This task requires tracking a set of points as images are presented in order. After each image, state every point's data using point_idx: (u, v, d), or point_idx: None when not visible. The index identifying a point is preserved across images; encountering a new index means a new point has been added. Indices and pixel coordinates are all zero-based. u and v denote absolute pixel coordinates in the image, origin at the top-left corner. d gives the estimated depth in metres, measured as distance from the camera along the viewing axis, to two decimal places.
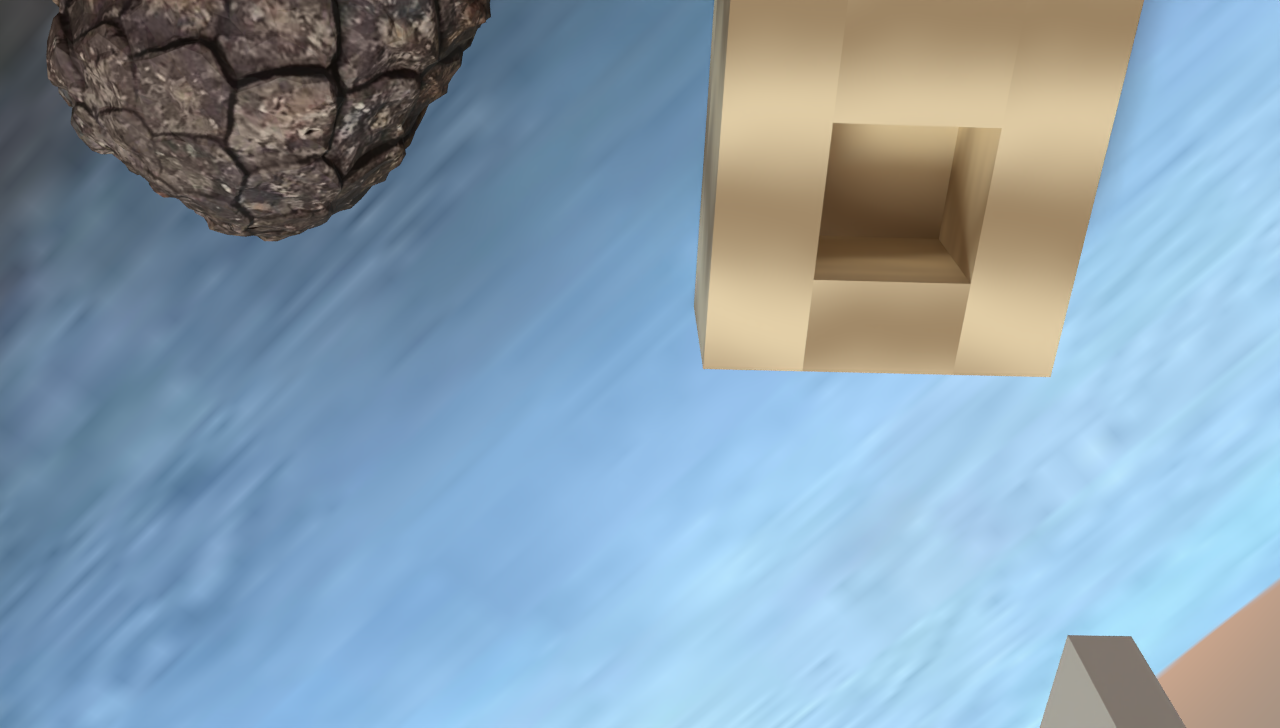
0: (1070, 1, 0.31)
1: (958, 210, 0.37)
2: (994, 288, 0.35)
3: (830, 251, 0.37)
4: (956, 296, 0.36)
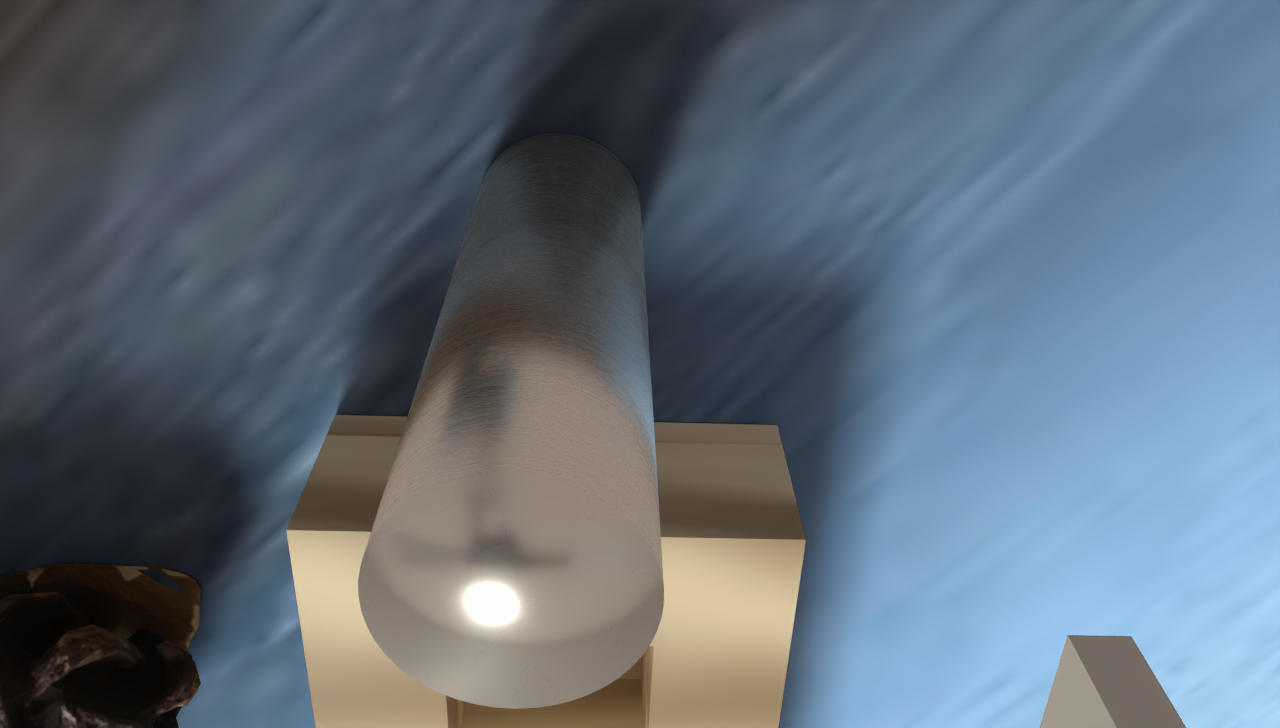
0: None
1: None
2: None
3: None
4: None
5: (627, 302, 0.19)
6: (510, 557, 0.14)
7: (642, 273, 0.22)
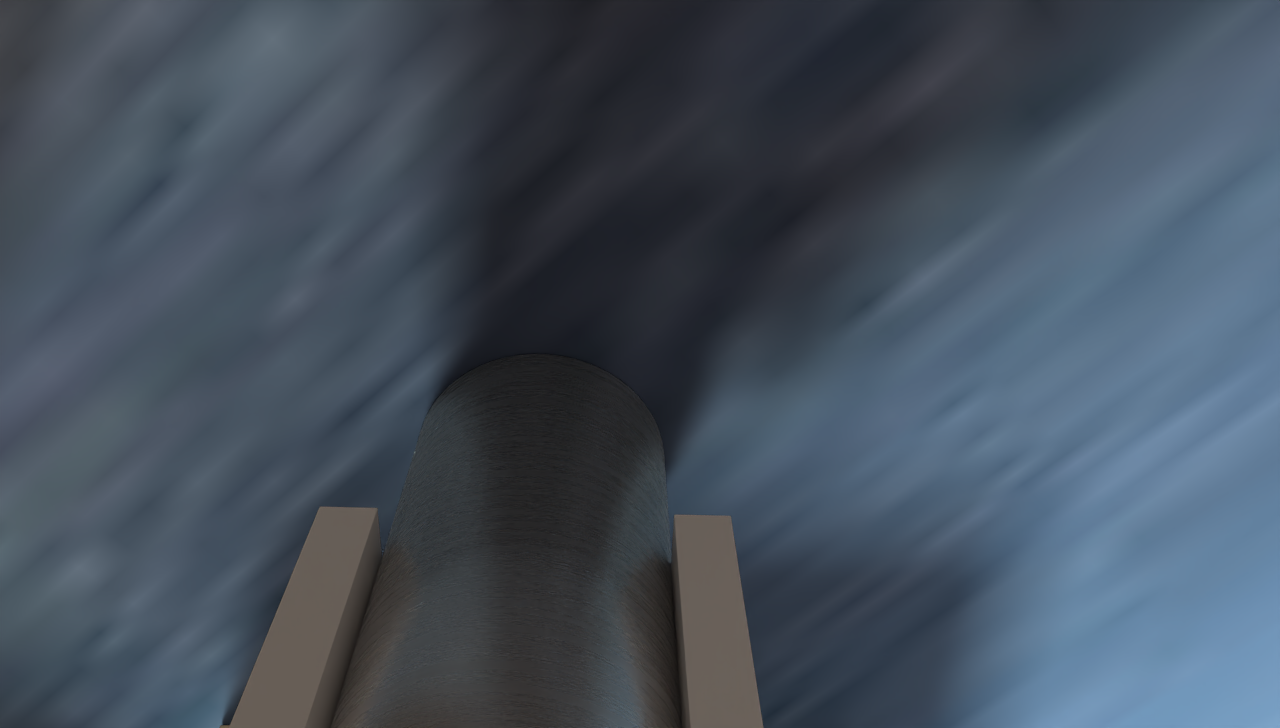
0: None
1: None
2: None
3: None
4: None
5: None
6: None
7: (674, 648, 0.13)
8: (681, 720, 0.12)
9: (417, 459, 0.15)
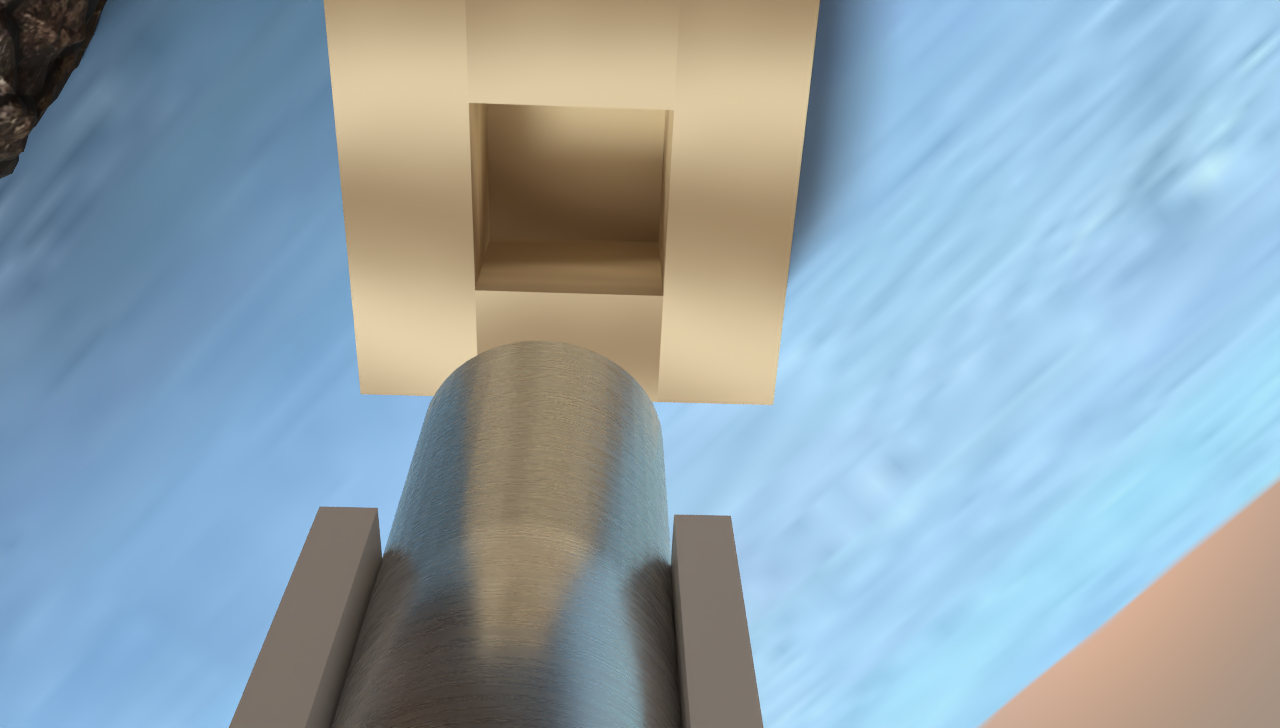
0: None
1: (662, 208, 0.31)
2: (692, 301, 0.30)
3: (518, 256, 0.32)
4: (648, 310, 0.30)
5: None
6: None
7: (672, 621, 0.13)
8: (681, 720, 0.12)
9: (422, 442, 0.16)
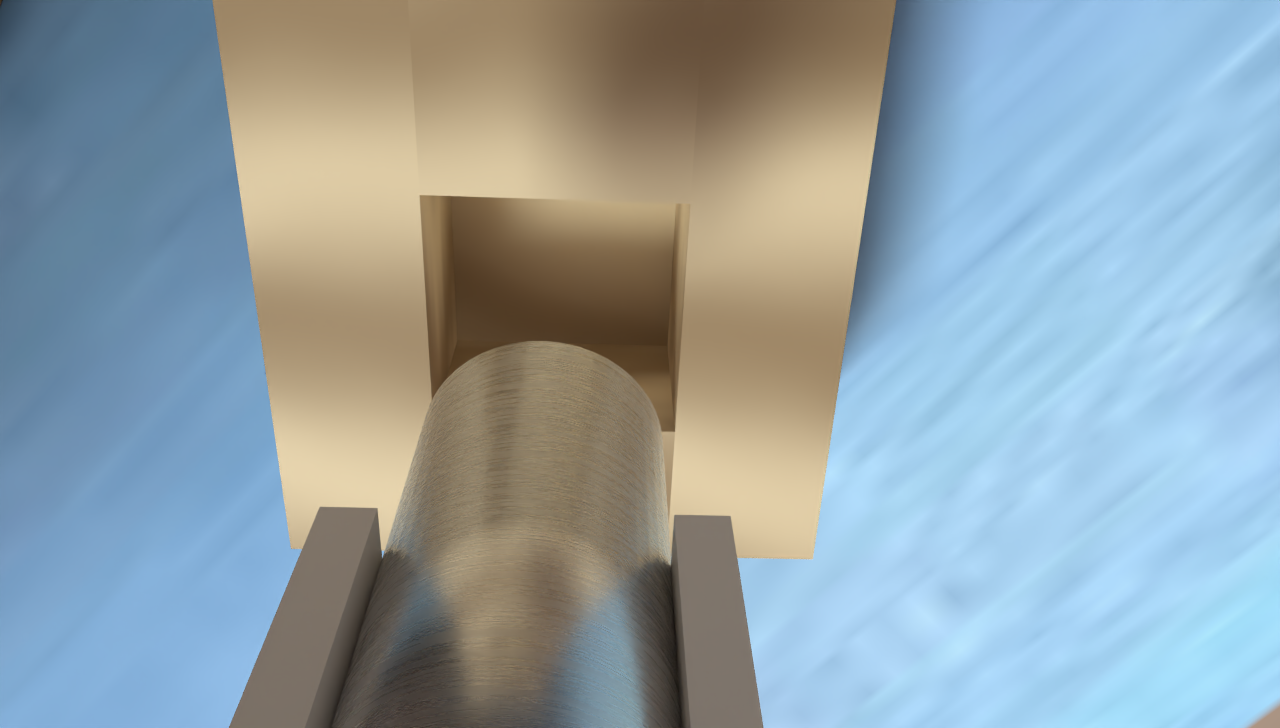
0: (775, 3, 0.19)
1: (673, 313, 0.25)
2: (711, 437, 0.23)
3: None
4: None
5: None
6: None
7: (672, 622, 0.13)
8: (681, 720, 0.12)
9: (422, 442, 0.16)
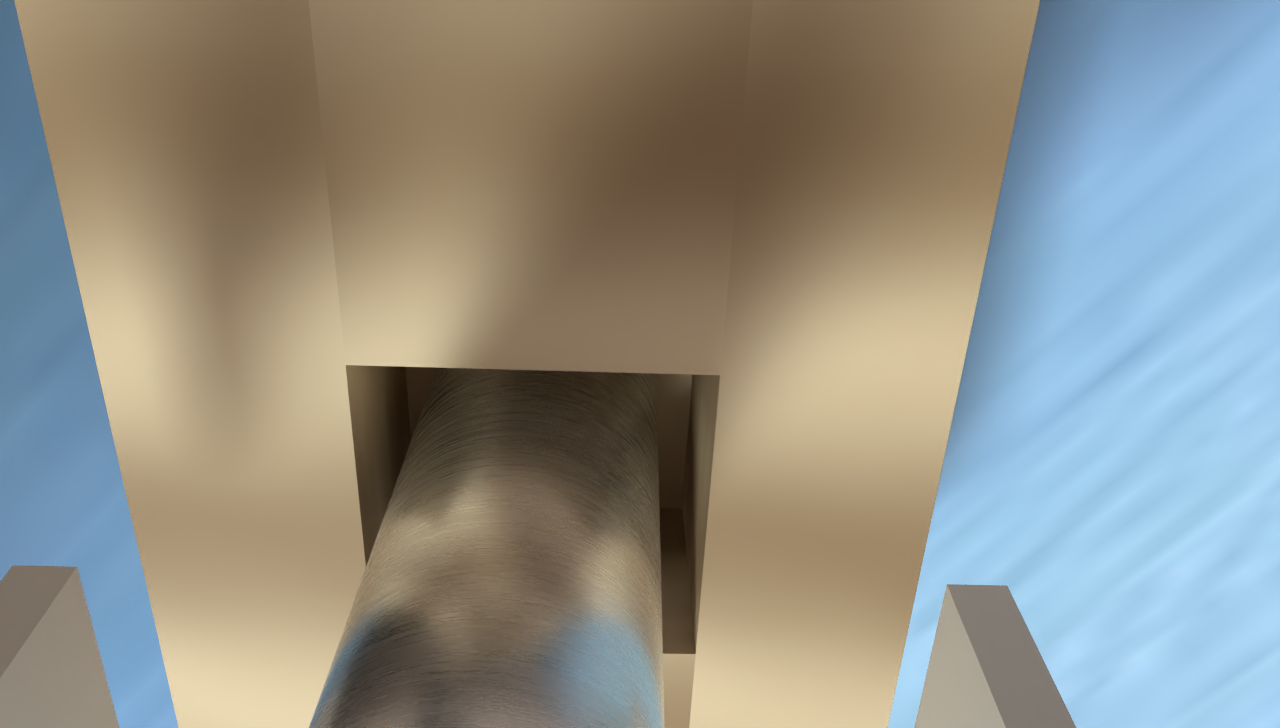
0: (845, 110, 0.13)
1: (692, 483, 0.19)
2: (743, 661, 0.18)
3: None
4: (670, 674, 0.18)
5: (631, 623, 0.12)
6: None
7: (656, 526, 0.15)
8: None
9: (437, 375, 0.18)
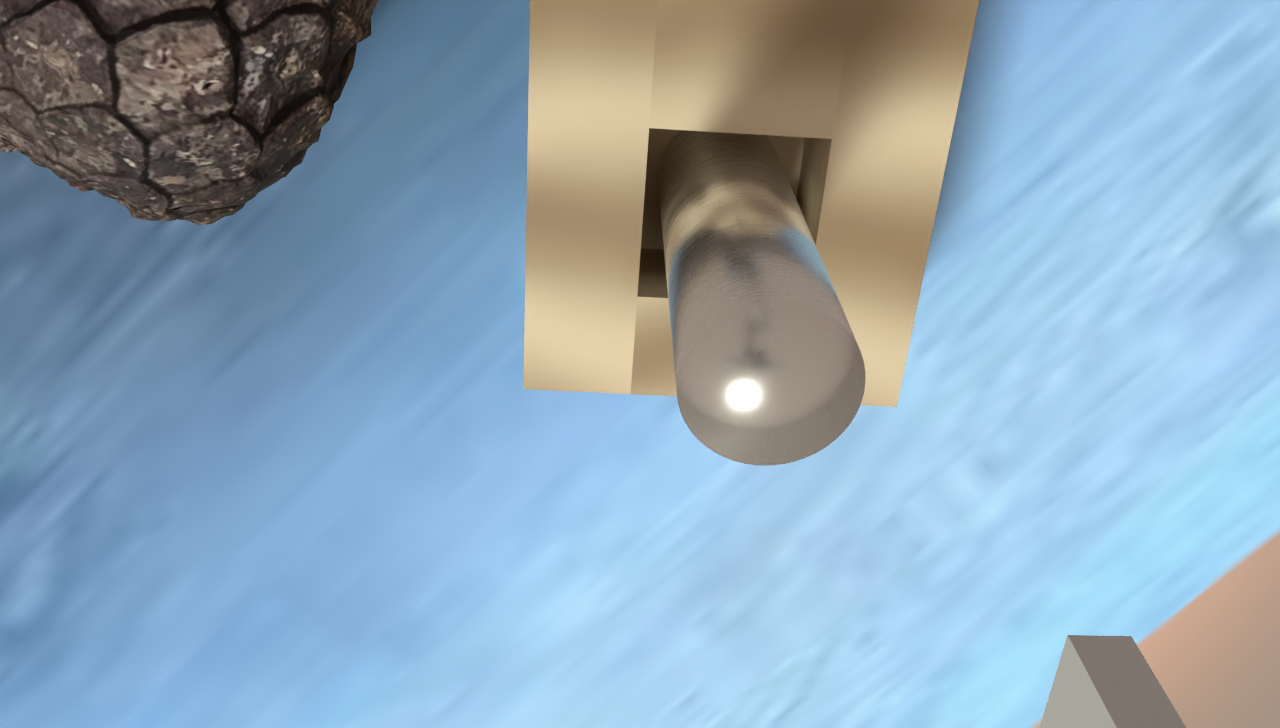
0: (899, 3, 0.29)
1: None
2: None
3: None
4: None
5: (806, 226, 0.28)
6: (775, 357, 0.22)
7: None
8: None
9: (672, 156, 0.33)
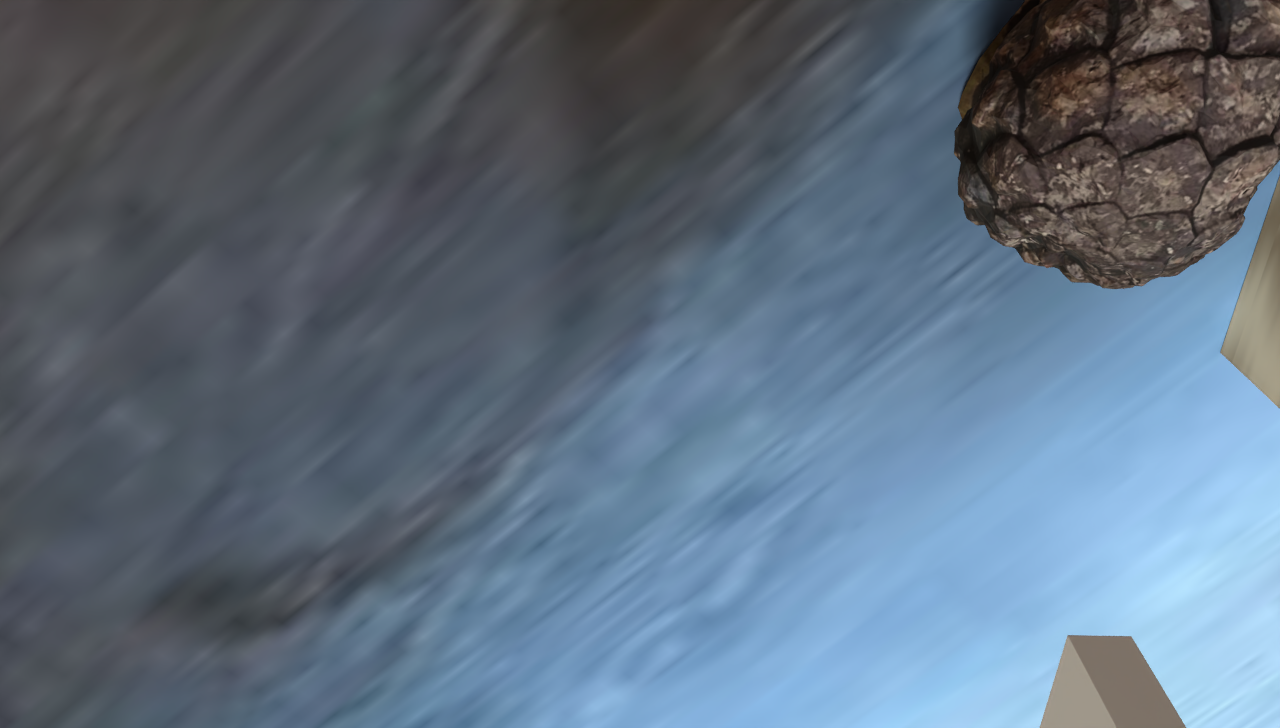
0: None
1: None
2: None
3: None
4: None
5: None
6: None
7: None
8: None
9: None
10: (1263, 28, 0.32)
